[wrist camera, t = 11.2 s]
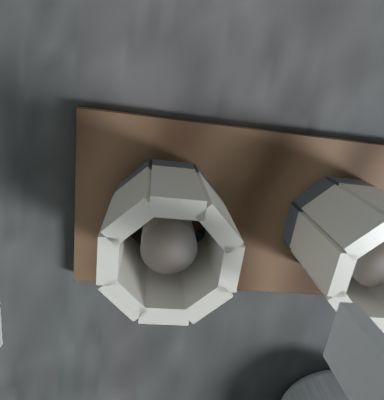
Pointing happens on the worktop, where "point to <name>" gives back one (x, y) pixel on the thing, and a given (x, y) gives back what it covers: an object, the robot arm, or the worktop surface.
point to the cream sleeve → (131, 241)
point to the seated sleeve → (338, 239)
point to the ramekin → (316, 388)
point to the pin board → (224, 184)
